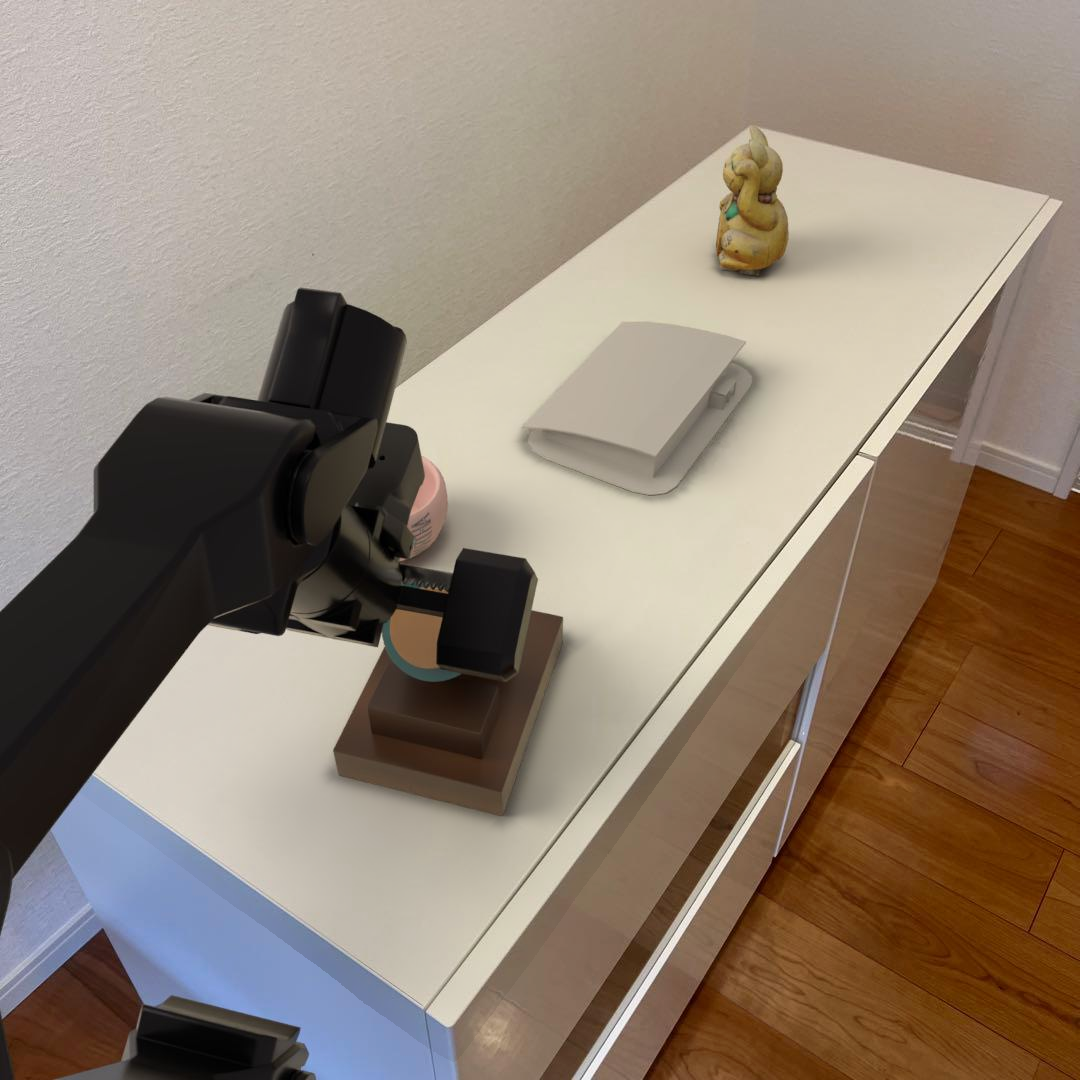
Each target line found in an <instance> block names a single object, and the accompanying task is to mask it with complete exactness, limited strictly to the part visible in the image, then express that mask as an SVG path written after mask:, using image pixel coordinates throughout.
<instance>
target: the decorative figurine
mask: <svg viewBox="0 0 1080 1080" xmlns="http://www.w3.org/2000/svg"><path fill="white" fill-rule="evenodd" d="M749 133H750V138H749V139H748V143H745V144H741V145H739V146H736V148H735V149H734V150H733V151H732V152H731V154H730V156H729V157H728V158H726V159H725V161H724V165H723V168H722V169H723V172H722V179H723V181H724V183H725V186H726V188H727V189H728V190H729V191H730V193H728V194H726V196H724V198H722V199H721V200H720V201H719V211H720V215H719V217H718V218H719V219H718V225H717V226H718V227H717V233H716V243H715V247H716V249H715V250H716V256H717V257H718V261H719V268H720V270H721V271H730V272H738V273H739V274H743V275H748V276H749V275H750V276H757V277H760V276H761V270H763V269H766V268H768V267H770V266H772V265H773V264H775V263H776V262H777V261H778V260H781V259H782V258H783V256H784V255H785V252H786V249H787V247H788V246H787V245H788V242H789V235H790V234H789V219H788V214H787V211H786V208H785V206H784V205H783V203H782V202H781V200H780V199H779V198H778V195H777V190H778V186H779V184H780V182H781V180H782V177H783V172H784V167H783V166H784V165H783V160H782V158H781V156H780V155H779V154H778V152H777V151H776V150H775V149H773V148H772V147H770V145H769V142H768V138H767V136H766V135H765V134H764V132H763V131H762V130H761V129H760V127H758V126H756V125H754V124H749Z"/></svg>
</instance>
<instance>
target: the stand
mask: <svg viewBox="0 0 1080 1080" xmlns="http://www.w3.org/2000/svg"><path fill="white" fill-rule="evenodd" d="M563 637H564V616H561V615H556V614H551V613H547V612H542V611H538V610H533V609H532V610H531V615H530V620H529V625H528V629H527V634H526V639H525V644H524V648H523V653H522V658H521V663H520V667H519V672H518V674H516V675H515V676H514V677H512V678H511V679H509V680H508V681H506V682H503V681H498V680H493V679H488V678H482V677H477V676H472V675H466V674H464V675H461V676H458V677H455V678H452V679H449V680H445V681H439V682H429V681H423V680H419V679H416V678H414V677H412V676H410V675H408V674H406V673H405V672H403V671H402V670H401V669H400V668H399V667H398V666H397V665H396V664H395V663H394V662H393V660H392V659H391V658H390V656H389V654H388V652H387V651H386V648H385V646H384V647H383V648H382V651H381V653H380V655H379V656H378V659H377V661H376V663H375V665H374V667H373V669H372V671H371V672H370V675H369V677H368V679H367V681H366V683H365V685H364V687H363V689H362V691H361V693H360V695H359V697H358V699H357V701H356V703H355V705H354V706H353V709H352V711H351V713H350V715H349V717H348V719H347V721H346V723H345V725H344V726H343V729H342V731H341V733H340V735H339V737H338V738H337V741H336V743H335V745H334V747H333V749H332V752H333V753H332V754H333V757H334V761H335V766H336V771H337V775H338V776H341V777H345V778H349V779H353V780H356V781H357V780H358V781H360V782H365V783H369V784H373V785H377V786H381V787H385V788H389V789H392V790H398V791H401V792H405V793H410V794H413V795H418V796H420V797H424V798H425V797H426V798H428V799H433V800H437V801H441V802H446V803H450V804H453V805H457V806H461V807H464V808H469V809H472V810H477V811H481V812H484V813H489V814H493V815H497V816H500V817H502V816H504V813H505V811H506V808H507V804H508V802H509V798H510V797H511V796H510V795H511V793H512V790H513V787H514V784H515V781H516V778H517V775H518V772H519V770H520V767H521V764H522V761H523V758H524V755H525V752H526V749H527V746H528V743H529V741H530V738H531V735H532V732H533V729H534V727H535V724H536V721H537V718H538V715H539V711H540V710H541V705H542V704H543V700H544V697H545V694H546V691H547V689H548V686H549V683H550V680H551V677H552V674H553V671H554V669H555V665H556V663H557V659H558V657H559V654H560V651H561V648H562V645H563V642H564V640H563V639H564V638H563Z"/></svg>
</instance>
